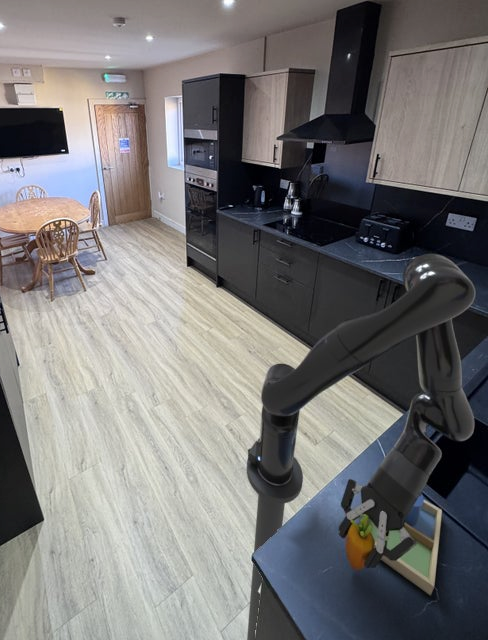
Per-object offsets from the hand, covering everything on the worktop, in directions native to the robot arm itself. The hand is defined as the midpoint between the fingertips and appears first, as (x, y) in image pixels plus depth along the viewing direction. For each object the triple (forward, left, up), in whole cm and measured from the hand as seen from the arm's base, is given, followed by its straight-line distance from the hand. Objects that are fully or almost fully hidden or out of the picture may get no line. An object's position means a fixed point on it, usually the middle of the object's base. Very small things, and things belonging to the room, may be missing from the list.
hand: (354, 550), depth 66 cm
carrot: (+1, +2, -8) cm, 8 cm away
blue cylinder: (+7, +21, -8) cm, 23 cm away
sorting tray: (+7, +17, -9) cm, 20 cm away
